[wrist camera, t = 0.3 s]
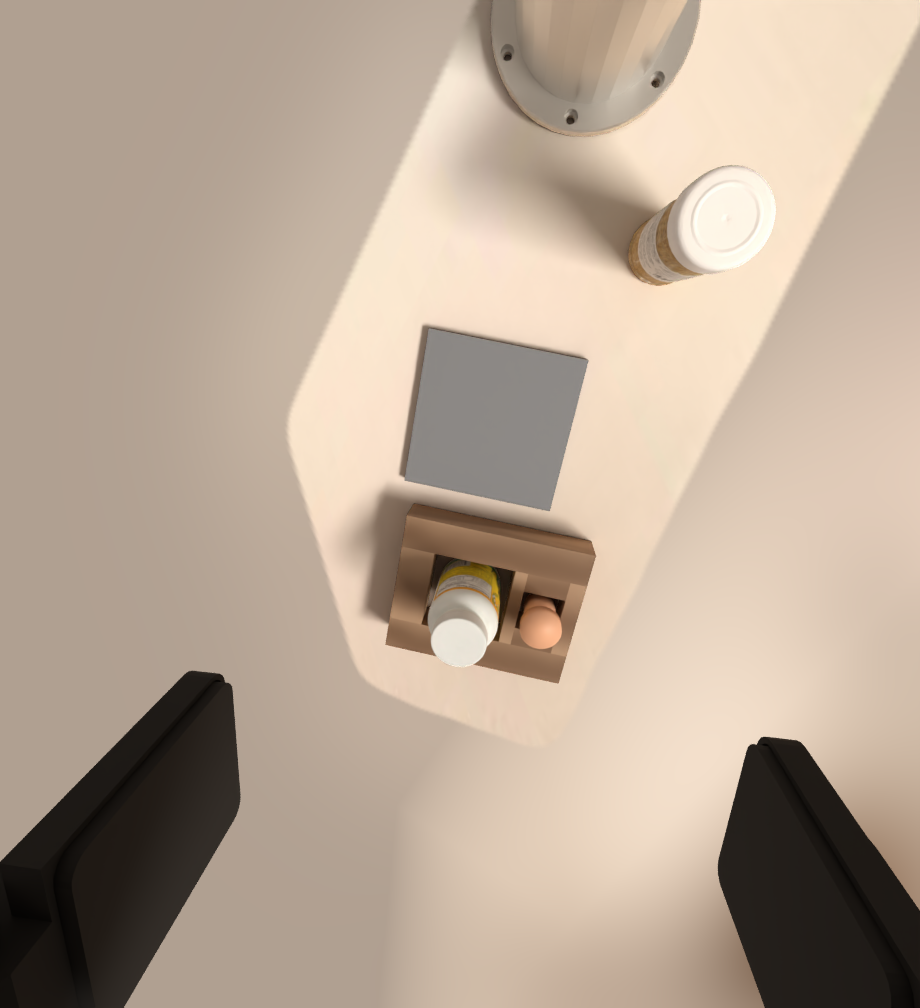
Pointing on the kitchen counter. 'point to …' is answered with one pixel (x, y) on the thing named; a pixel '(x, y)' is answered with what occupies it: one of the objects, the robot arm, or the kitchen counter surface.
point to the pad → (493, 418)
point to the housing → (536, 569)
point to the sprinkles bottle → (705, 228)
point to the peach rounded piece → (540, 622)
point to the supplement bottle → (464, 612)
